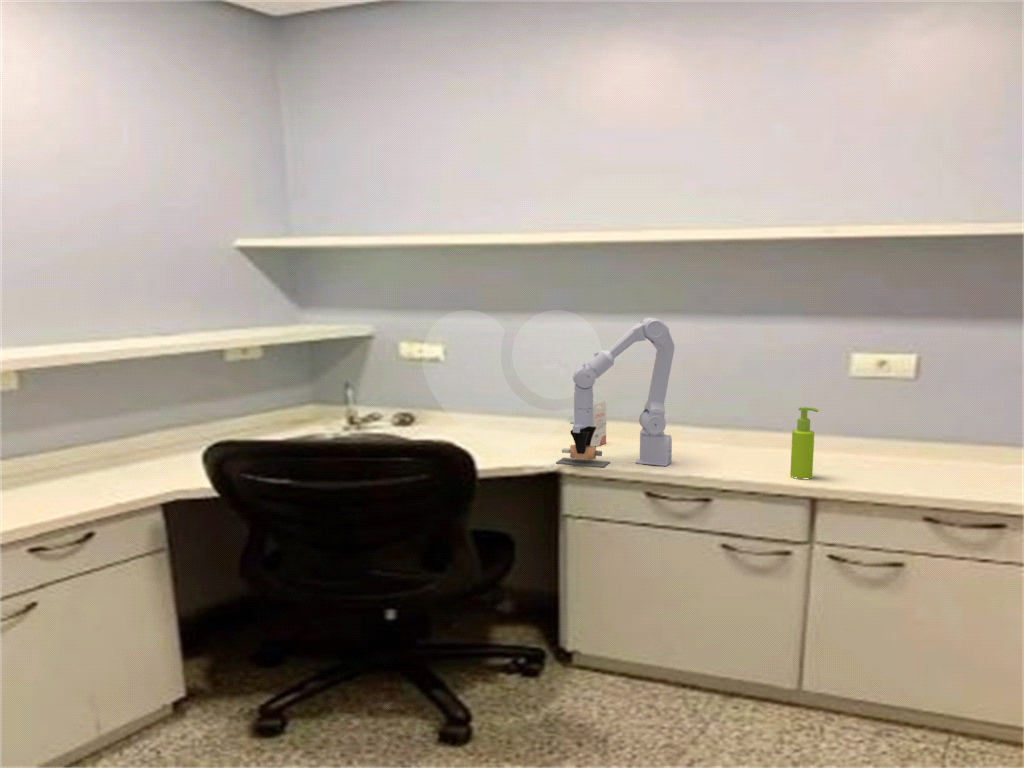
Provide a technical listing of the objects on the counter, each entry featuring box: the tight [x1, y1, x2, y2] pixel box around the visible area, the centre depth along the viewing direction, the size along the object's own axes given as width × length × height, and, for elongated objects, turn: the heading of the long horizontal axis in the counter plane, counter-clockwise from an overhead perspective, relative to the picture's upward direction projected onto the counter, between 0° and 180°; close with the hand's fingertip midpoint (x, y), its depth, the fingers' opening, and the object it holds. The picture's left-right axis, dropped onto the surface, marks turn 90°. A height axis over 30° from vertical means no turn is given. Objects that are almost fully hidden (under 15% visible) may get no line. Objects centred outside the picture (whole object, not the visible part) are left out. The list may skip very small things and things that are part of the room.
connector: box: [561, 444, 603, 460], centre depth 253 cm, size 12×4×3 cm, turn 67°
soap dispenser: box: [789, 406, 820, 478], centre depth 234 cm, size 6×7×20 cm
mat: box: [555, 457, 611, 469], centre depth 253 cm, size 15×7×1 cm, turn 67°
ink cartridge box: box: [590, 400, 607, 447], centre depth 279 cm, size 9×5×15 cm, turn 143°
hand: (583, 451), depth 253 cm, fingers open, 4 cm apart
